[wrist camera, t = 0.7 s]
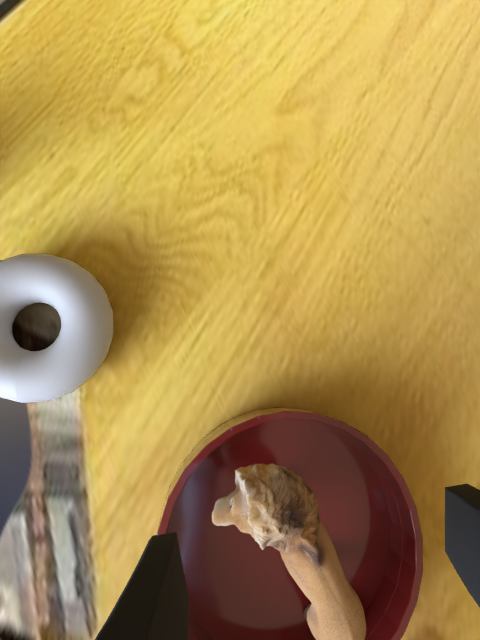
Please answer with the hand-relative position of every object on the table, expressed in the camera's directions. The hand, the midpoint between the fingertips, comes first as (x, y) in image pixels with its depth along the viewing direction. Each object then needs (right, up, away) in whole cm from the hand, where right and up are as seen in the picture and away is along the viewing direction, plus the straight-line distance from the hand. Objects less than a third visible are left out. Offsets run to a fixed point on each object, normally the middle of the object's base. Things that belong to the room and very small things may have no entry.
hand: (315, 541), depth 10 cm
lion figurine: (+1, -9, +17) cm, 19 cm away
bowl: (+1, -9, +17) cm, 19 cm away
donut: (-16, +5, +17) cm, 24 cm away
